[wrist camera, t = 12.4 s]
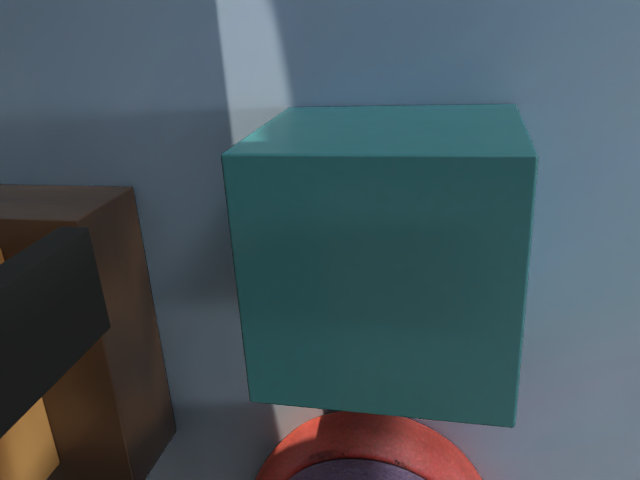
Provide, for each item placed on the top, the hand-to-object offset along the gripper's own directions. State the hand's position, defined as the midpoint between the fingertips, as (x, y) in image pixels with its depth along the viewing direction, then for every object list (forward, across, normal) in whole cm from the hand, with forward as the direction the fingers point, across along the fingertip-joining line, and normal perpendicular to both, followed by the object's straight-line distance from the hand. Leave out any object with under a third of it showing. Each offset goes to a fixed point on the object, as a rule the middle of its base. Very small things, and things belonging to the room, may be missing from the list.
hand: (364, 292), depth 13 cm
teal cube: (+7, 0, -1) cm, 7 cm away
